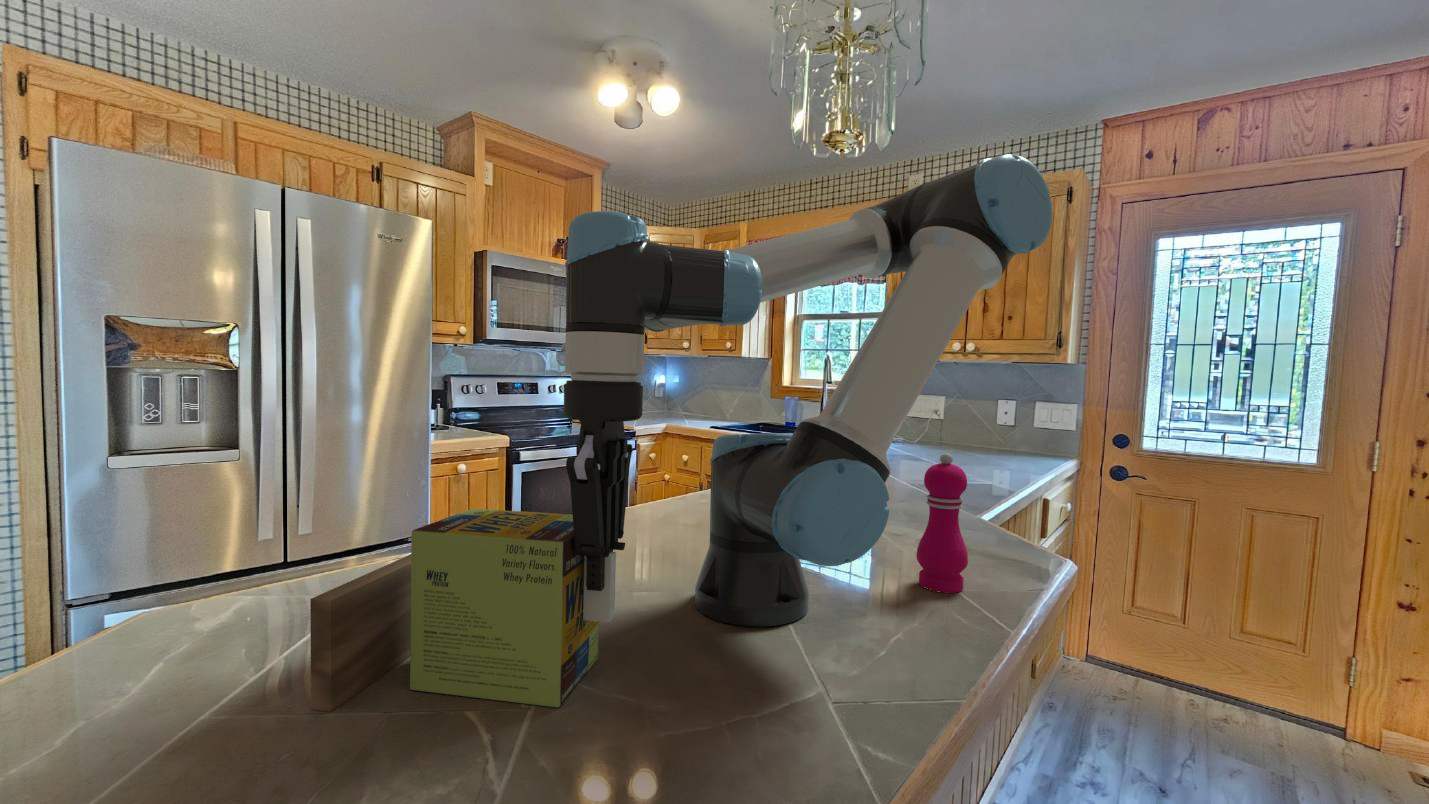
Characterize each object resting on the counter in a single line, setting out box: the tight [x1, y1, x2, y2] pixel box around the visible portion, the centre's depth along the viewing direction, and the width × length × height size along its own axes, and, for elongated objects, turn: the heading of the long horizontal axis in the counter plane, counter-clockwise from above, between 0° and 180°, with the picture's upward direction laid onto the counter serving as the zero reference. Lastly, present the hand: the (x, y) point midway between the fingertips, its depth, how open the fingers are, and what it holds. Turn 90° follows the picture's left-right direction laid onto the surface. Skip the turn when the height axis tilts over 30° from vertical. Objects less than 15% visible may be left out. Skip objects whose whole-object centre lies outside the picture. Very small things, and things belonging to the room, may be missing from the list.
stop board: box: [309, 554, 411, 713], centre depth 65 cm, size 2×20×10 cm, turn 171°
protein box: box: [409, 508, 599, 708], centre depth 63 cm, size 10×15×16 cm
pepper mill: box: [916, 452, 969, 594], centre depth 93 cm, size 7×7×20 cm
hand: (598, 617), depth 61 cm, fingers closed
